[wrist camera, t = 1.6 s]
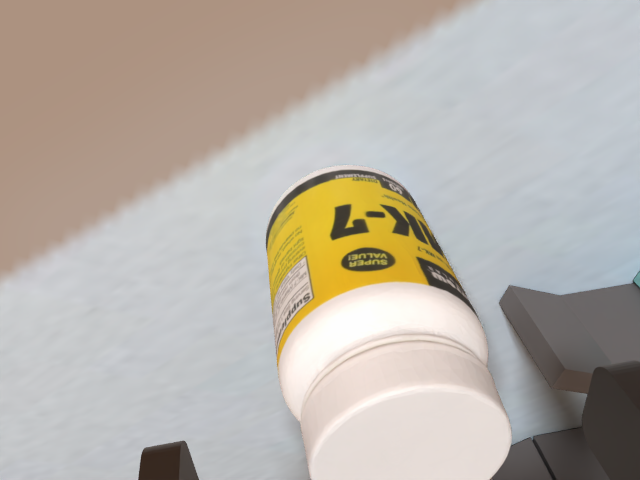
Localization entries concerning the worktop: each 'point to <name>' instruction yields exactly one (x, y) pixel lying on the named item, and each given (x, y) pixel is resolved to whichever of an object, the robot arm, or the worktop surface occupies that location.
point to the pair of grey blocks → (569, 367)
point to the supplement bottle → (378, 336)
